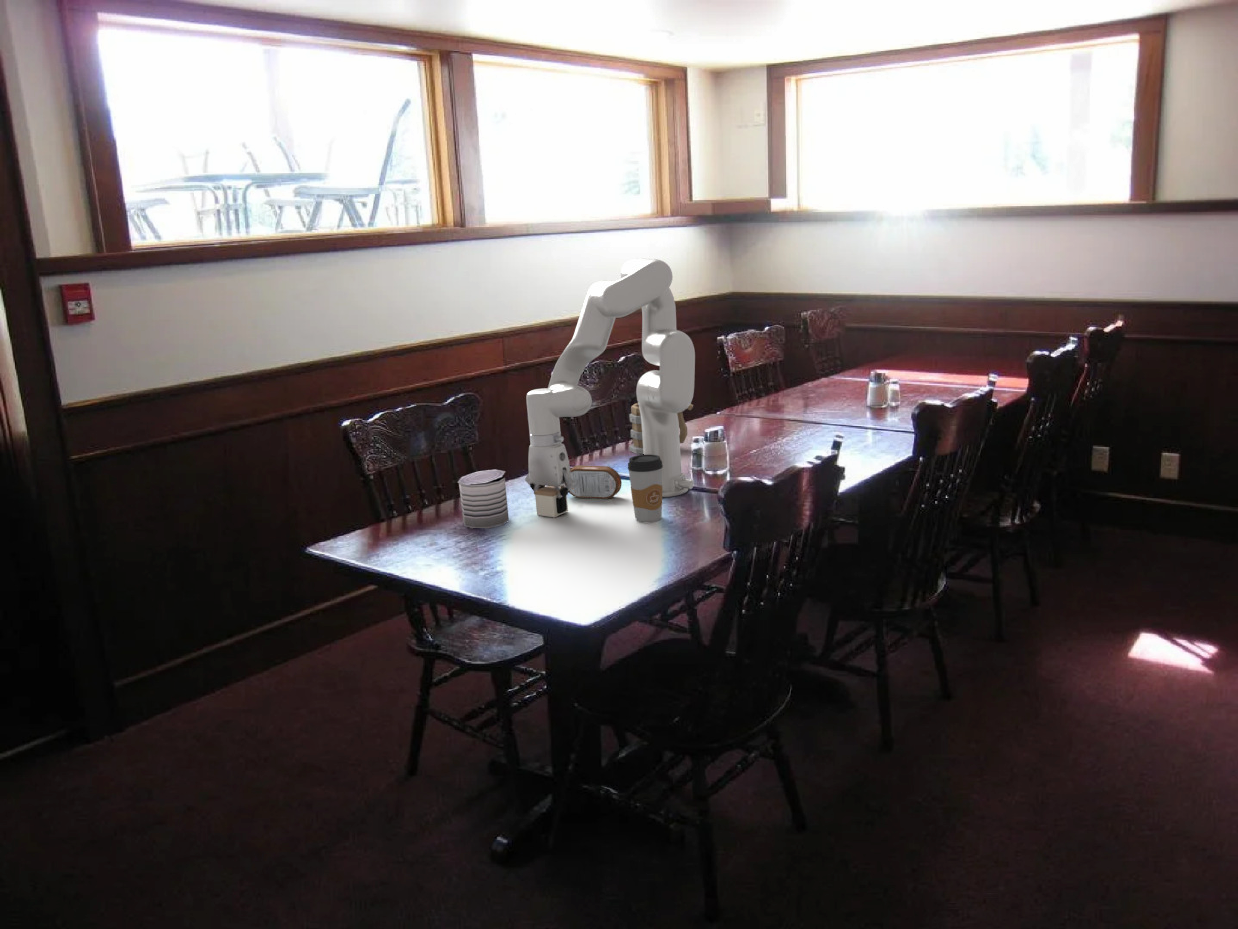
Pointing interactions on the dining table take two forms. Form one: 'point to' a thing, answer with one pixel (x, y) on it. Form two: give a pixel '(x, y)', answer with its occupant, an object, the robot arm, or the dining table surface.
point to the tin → (595, 482)
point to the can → (484, 499)
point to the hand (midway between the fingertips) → (552, 510)
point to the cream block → (547, 501)
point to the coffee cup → (646, 487)
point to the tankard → (637, 429)
